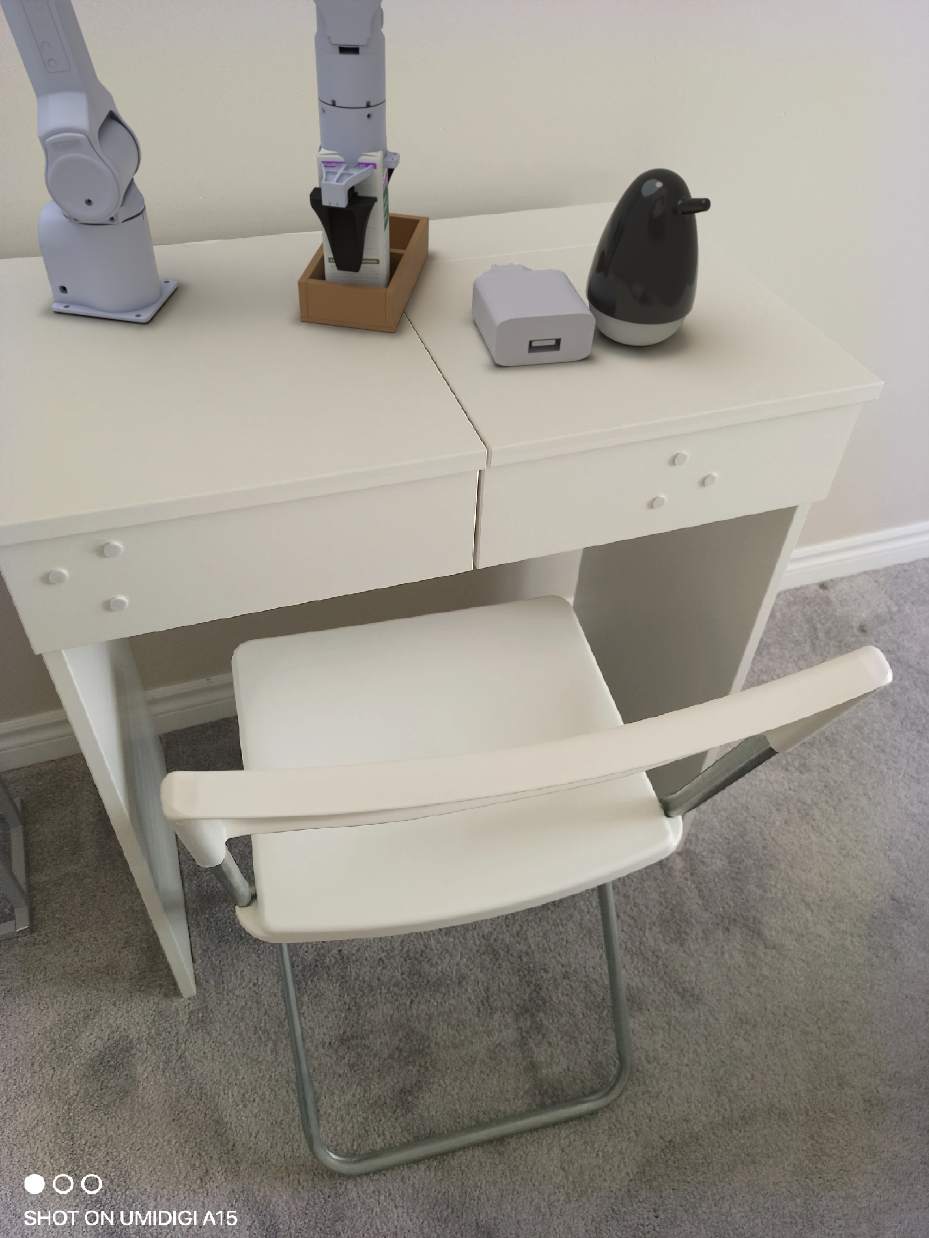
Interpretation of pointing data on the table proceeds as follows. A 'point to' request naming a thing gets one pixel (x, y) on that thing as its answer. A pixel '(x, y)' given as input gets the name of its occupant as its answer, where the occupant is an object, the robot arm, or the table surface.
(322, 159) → the syrup box
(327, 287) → the divided box
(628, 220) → the pump dispenser
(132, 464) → the table surface
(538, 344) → the charger
